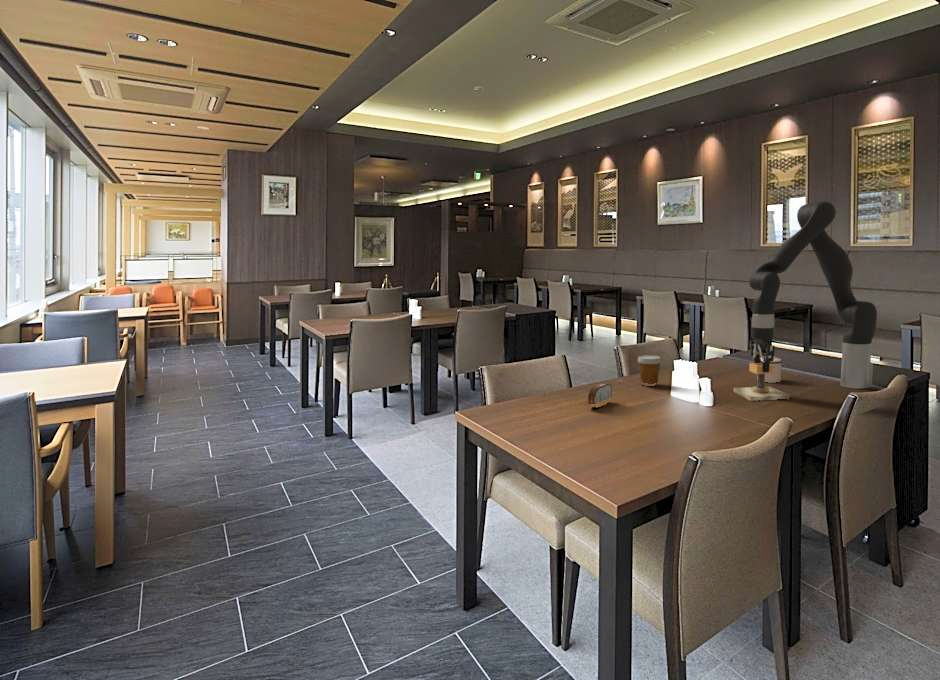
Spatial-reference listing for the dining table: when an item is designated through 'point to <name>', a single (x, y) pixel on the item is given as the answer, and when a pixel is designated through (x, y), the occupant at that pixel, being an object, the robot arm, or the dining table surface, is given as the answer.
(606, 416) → the dining table surface
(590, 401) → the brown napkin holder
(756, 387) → the post stand
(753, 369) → the orange square socket block
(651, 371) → the disposable coffee cup
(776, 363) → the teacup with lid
